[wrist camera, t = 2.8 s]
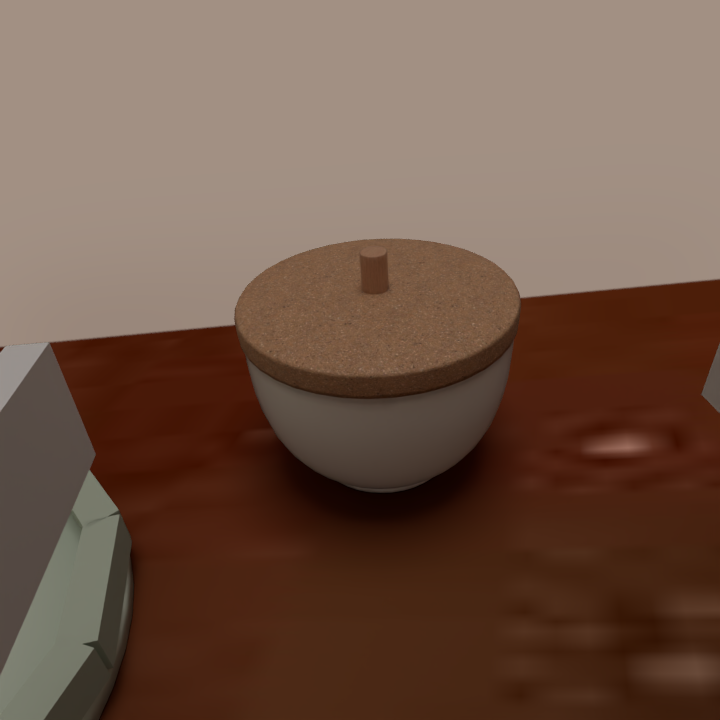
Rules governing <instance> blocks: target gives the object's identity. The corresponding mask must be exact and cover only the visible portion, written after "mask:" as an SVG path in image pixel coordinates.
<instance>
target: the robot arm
mask: <svg viewBox="0 0 720 720" xmlns="http://www.w3.org/2000/svg"><path fill="white" fill-rule="evenodd" d="M701 395H702V396H703V397H704V398H705V399H706V400H707V401H708V402H709V403H710V404H711V405H712V406H713V407H714V408H715V409H716V410H717V411H718V412H719V413H720V344H719V347H718V350H717V352H716V355H715V358H714V361H713V363H712V366H711V369H710V372H709V375H708V377H707V380H706V383H705V386H704V389H703V391H702V394H701ZM95 455H96V454H95V451H94V449H93V447H92V444H91V442H90V439H89V437H88V435H87V432H86V430H85V427H84V425H83V423H82V420H81V418H80V415H79V413H78V410H77V408H76V406H75V403H74V401H73V398H72V396H71V394H70V391H69V389H68V386H67V384H66V382H65V379H64V377H63V374H62V372H61V370H60V367H59V365H58V362H57V360H56V357H55V355H54V353H53V350H52V348H51V345H50V343H49V342H47V343H35V344H24V345H13V346H6V347H5V348H4V349H3V350H2V351H1V353H0V675H1V673H2V671H3V668H4V666H5V664H6V661H7V659H8V657H9V654H10V652H11V650H12V648H13V645H14V643H15V641H16V638H17V636H18V634H19V631H20V629H21V627H22V624H23V622H24V620H25V617H26V615H27V613H28V610H29V608H30V606H31V604H32V601H33V599H34V597H35V594H36V592H37V590H38V587H39V585H40V583H41V580H42V578H43V576H44V573H45V571H46V569H47V566H48V564H49V562H50V559H51V557H52V555H53V553H54V550H55V548H56V546H57V543H58V541H59V539H60V536H61V534H62V532H63V529H64V527H65V525H66V522H67V520H68V518H69V515H70V513H71V511H72V509H73V506H74V504H75V502H76V499H77V497H78V495H79V492H80V490H81V488H82V485H83V483H84V481H85V478H86V476H87V474H88V471H89V469H90V467H91V465H92V462H93V460H94V458H95Z"/></svg>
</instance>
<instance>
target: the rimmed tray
mask: <svg viewBox="0 0 720 720" xmlns="http://www.w3.org/2000/svg"><path fill="white" fill-rule="evenodd" d="M130 538H131V536H130V534H129V532H128V530H127V527H126V525H125V523H124V521H123V519H122V516H121V514H120V512H119V510H118V508H117V507H116V506H115V504H114V503H113V502H112V500H111V499H110V497H109V496H108V495H107V493H106V492H105V491H104V489H103V488H102V487H101V485H100V484H99V482H98V481H97V480H96V478H95V477H94V476H93V474H92V473H91V472H90V470H89V471H88V474H87V476H86V478H85V481H84V483H83V485H82V488H81V490H80V492H79V495H78V497H77V499H76V502H75V504H74V506H73V509H72V511H71V513H70V515H69V518H68V520H67V522H66V525H65V527H64V529H63V532H62V534H61V536H60V539H59V541H58V543H57V546H56V548H55V550H54V553H53V555H52V557H51V559H50V562H49V564H48V566H47V569H46V571H45V573H44V576H43V578H42V580H41V583H40V585H39V587H38V590H37V592H36V594H35V597H34V599H33V601H32V604H31V606H30V608H29V610H28V613H27V615H26V617H25V620H24V622H23V624H22V627H21V629H20V631H19V634H18V636H17V638H16V641H15V643H14V645H13V648H12V650H11V652H10V654H9V657H8V659H7V661H6V664H5V666H4V668H3V671H2V673H1V675H0V720H99V718H100V716H101V714H102V712H103V709H104V707H105V705H106V703H107V700H108V698H109V696H110V694H111V692H112V689H113V687H114V684H115V681H116V678H117V675H118V671H119V668H120V665H121V662H122V659H123V656H124V653H125V650H126V645H127V640H128V635H129V630H130V625H131V620H132V614H133V595H134V582H133V573H132V564H131V558H130V551H131V544H132V541H131V539H130Z"/></svg>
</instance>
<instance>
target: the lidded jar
mask: <svg viewBox="0 0 720 720" xmlns="http://www.w3.org/2000/svg"><path fill="white" fill-rule="evenodd" d="M520 310H521V301H520V295H519V292H518V290H517V288H516V286H515V284H514V282H513V280H512V279H511V278H510V277H509V276H508V275H507V274H506V273H505V272H504V271H503V270H502V269H501V268H500V267H498V266H497V265H496V264H495V263H493V262H491V261H489V260H488V259H486V258H484V257H482V256H479V255H477V254H475V253H473V252H470V251H467V250H465V249H461V248H458V247H454V246H450V245H445V244H441V243H436V242H429V241H421V240H410V239H371V240H358V241H351V242H344V243H339V244H333V245H328V246H324V247H320V248H316V249H312V250H309V251H306V252H303V253H300V254H297V255H294V256H292V257H290V258H288V259H285V260H283V261H281V262H279V263H277V264H276V265H274V266H272V267H270V268H268V269H266V270H265V271H264V272H262V273H261V274H260V275H259V276H257V277H256V278H255V279H254V280H253V281H252V282H251V283H249V284H248V285H247V287H246V288H245V290H244V291H243V293H242V294H241V296H240V298H239V300H238V302H237V305H236V308H235V325H236V330H237V334H238V338H239V341H240V345H241V348H242V350H243V352H244V353H245V356H246V361H247V365H248V369H249V372H250V376H251V380H252V383H253V387H254V390H255V393H256V396H257V398H258V401H259V403H260V406H261V409H262V411H263V413H264V414H265V416H266V418H267V420H268V422H269V424H270V426H271V427H272V429H273V431H274V432H275V434H276V436H277V437H278V438H279V439H280V441H281V442H282V443H283V444H284V445H285V447H286V448H287V449H288V450H289V451H290V452H291V453H292V454H293V455H294V456H295V457H296V458H297V459H299V460H300V461H301V462H303V463H304V464H305V465H307V466H308V467H309V468H311V469H312V470H314V471H315V472H317V473H319V474H321V475H323V476H325V477H327V478H329V479H332V480H335V481H338V482H339V483H341V484H343V485H345V486H347V487H350V488H353V489H356V490H359V491H364V492H370V493H393V492H399V491H404V490H408V489H411V488H414V487H417V486H419V485H421V484H423V483H425V482H427V481H428V480H430V479H431V478H433V477H435V476H437V475H439V474H441V473H443V472H445V471H446V470H448V469H450V468H451V467H453V466H454V465H456V464H457V463H458V462H459V461H460V460H461V459H463V458H464V457H465V456H466V455H467V454H468V453H469V452H470V451H471V450H473V449H474V447H475V446H476V445H477V444H478V442H479V441H480V440H481V438H482V437H483V436H484V434H485V433H486V431H487V430H488V428H489V427H490V425H491V423H492V421H493V419H494V416H495V414H496V412H497V409H498V407H499V405H500V402H501V400H502V398H503V394H504V390H505V387H506V383H507V379H508V374H509V369H510V363H511V357H512V350H513V342H514V338H515V336H516V334H517V329H518V324H519V318H520Z"/></svg>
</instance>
